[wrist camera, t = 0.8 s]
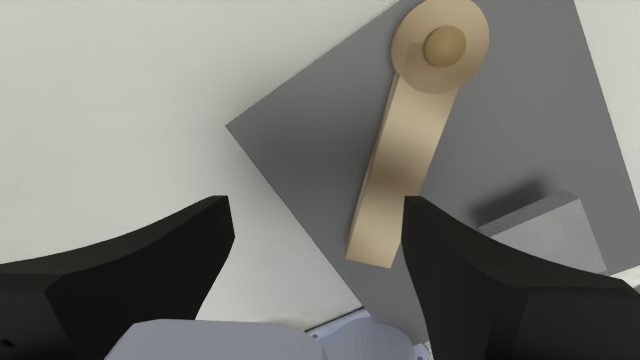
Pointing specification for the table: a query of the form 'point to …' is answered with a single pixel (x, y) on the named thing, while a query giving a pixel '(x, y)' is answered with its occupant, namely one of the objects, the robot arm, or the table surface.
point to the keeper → (551, 232)
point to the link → (414, 117)
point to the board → (449, 143)
